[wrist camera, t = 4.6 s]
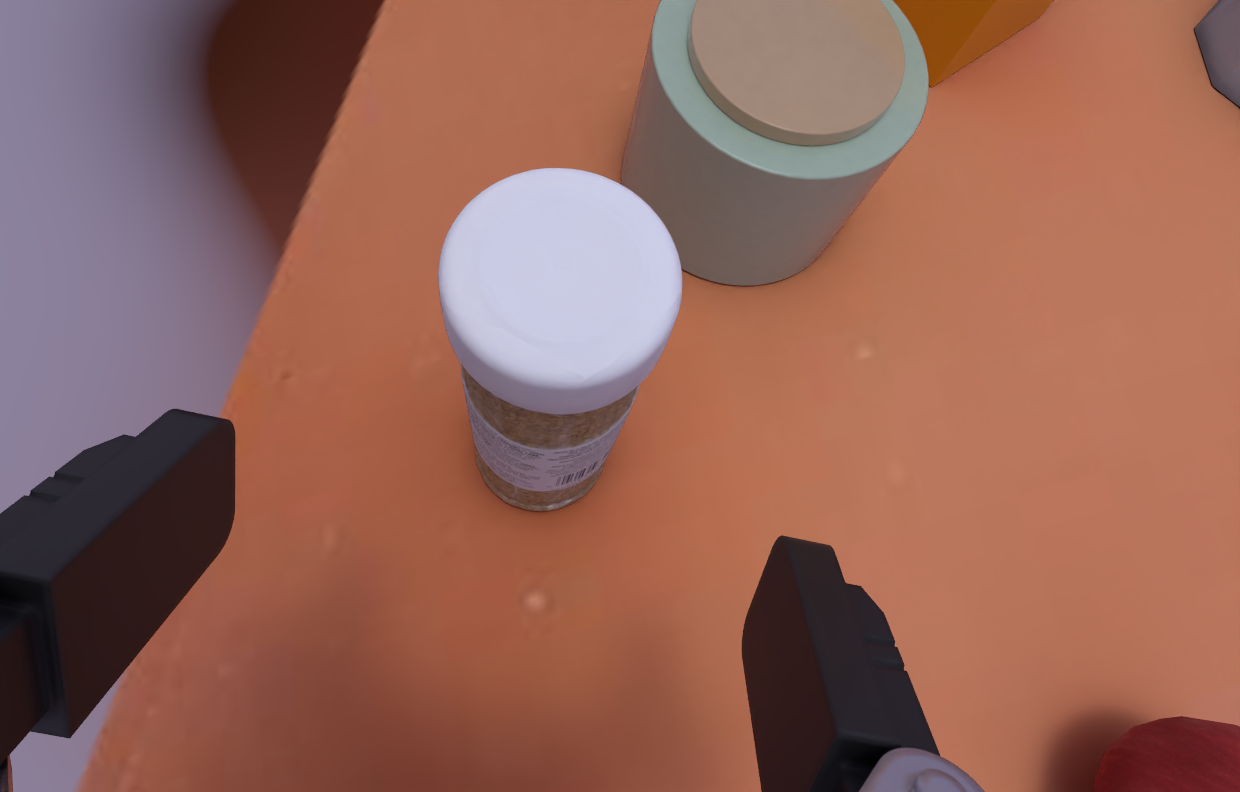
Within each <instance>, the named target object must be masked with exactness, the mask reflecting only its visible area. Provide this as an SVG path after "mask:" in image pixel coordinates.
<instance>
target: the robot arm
mask: <svg viewBox="0 0 1240 792" xmlns="http://www.w3.org/2000/svg"><path fill="white" fill-rule="evenodd" d="M234 514H235V429H234V426H233V424H232V422H231V421H230V420H227V419H223V418H218V417H213V416H208V415H203V414H198V413H194V412H188V411H184V410H179V409H172V410H169V411H167V412H166V413H165V414H163V415H162V416H161V417H160V418H159V419H158V420H156V421H155V422H154V423H152V424H151V425H150V426H149V427H147V428H146V429H145V430H144V431H143V432H141V433H140V434H139V435H138V436H136V437H133V436H128V435H122V436H119V437H117V438H114V439H112V440H109V441H107V442H104V443H101V444H99V445H96V446H94V447H91V448H88V449H86V450H84V451H82V452H81V453H80V454H78V455H77V456H76V457H74V458H73V459H72V460H70V461H69V462H68V463H66V464H65V465H64V466H63V467H61V468H60V469H59V470H57V471H56V472H55V475H54V477H48V478H47V479H46V480H44V481H43V482H42V483H40V484H39V485H38V486H36V487H35V488H34V489H32V490H31V493H30V495H29V496H23V497H22V498H20V499H19V500H18V501H17V502H15V503H14V504H13V505H11V506H10V507H9V508H7V509H6V510H5V511H3V512H2V513H1V514H0V792H13V782H12V766H11V760H10V753H11V752H12V751H13V750H14V749H15V748H16V747H17V745H18V744H19V743H20V742H21V741H22V740H23V738H24V737H25V736H26V735H27V734H28V733H29V732H30V731H31V732H37V733H43V734H48V735H54V736H59V737H65V738H71V736H72V735H73V734H74V733H75V731H76V730H77V729H78V727H79V726H80V725H81V724H82V723H83V721H84V720H85V719H86V718H87V717H88V715H89V714H90V713H91V711H92V710H93V709H94V708H95V707H96V705H97V704H98V703H99V702H100V700H101V699H102V698H103V697H104V695H105V694H106V693H107V692H108V691H109V689H110V688H111V687H112V686H113V684H114V683H115V682H116V681H117V679H118V678H119V677H120V676H121V674H122V673H123V672H124V671H125V669H126V668H127V667H128V666H129V665H130V663H131V662H132V661H133V660H134V658H135V657H136V656H137V655H138V653H139V652H140V651H141V650H142V648H143V647H144V646H145V645H146V643H147V642H148V641H149V640H150V638H151V637H152V636H153V635H154V634H155V632H156V631H157V630H158V629H159V627H160V626H161V625H162V624H163V622H164V621H165V620H166V619H167V617H168V616H169V615H170V614H171V612H172V611H173V610H174V609H175V608H176V606H177V605H178V604H179V603H180V601H181V600H182V599H183V598H184V596H185V595H186V594H187V593H188V591H189V590H190V589H191V588H192V586H193V585H194V584H195V583H196V582H197V580H198V579H199V578H200V577H201V575H202V574H203V573H204V572H205V570H206V569H207V568H208V567H209V565H210V564H211V563H212V562H213V560H214V559H215V558H216V557H217V556H218V554H219V553H220V551H221V550H222V548H223V547H224V545H225V543H226V541H227V539H228V536H229V534H230V531H231V528H232V524H233V520H234ZM894 645H895V640H894V637H893V635H892V632H891V630H890V627H889V625H888V622H887V620H886V617H885V615H884V613H883V612H882V610H881V609H880V608H879V607H878V606H877V605H876V603H875V602H874V601H873V600H872V599H871V598H870V596H869V595H868V594H867V593H866V592H865V591H864V589H863V588H862V587H861V586H857V585H852V584H847V583H845V580H844V578H843V575H842V572H841V569H840V566H839V563H838V560H837V557H836V555H835V552H834V550H833V548H832V547H831V546H830V545H826V544H821V543H816V542H811V541H806V540H801V539H797V538H792V537H787V536H780V537H778V538H777V540H776V541H775V543H774V545H773V547H772V550H771V552H770V555H769V558H768V560H767V563H766V565H765V568H764V571H763V573H762V576H761V579H760V581H759V584H758V586H757V589H756V592H755V594H754V597H753V600H752V602H751V605H750V607H749V610H748V613H747V616H746V620H745V624H744V629H743V636H742V659H743V666H744V673H745V680H746V687H747V693H748V700H749V707H750V714H751V721H752V728H753V735H754V741H755V748H756V755H757V762H758V769H759V776H760V783H761V790H762V792H985V791H984V790H983V789H982V788H981V787H980V786H979V785H978V784H977V782H976V781H974V780H973V779H972V778H971V777H970V776H969V775H968V774H967V773H966V772H964V771H963V770H962V769H960V768H959V767H958V766H956V765H955V764H953V763H951V762H950V761H948V760H947V759H945V758H942V757H941V756H940V754H939V751H938V749H937V746H936V744H935V741H934V739H933V736H932V734H931V731H930V728H929V726H928V723H927V721H926V718H925V716H924V713H923V711H922V708H921V706H920V703H919V701H918V698H917V696H916V693H915V691H914V688H913V685H912V683H911V680H910V678H909V675H908V673H907V671H904V663H903V660H902V658H901V655H900V653H899V650H898V648H897V647H895V646H894Z"/></svg>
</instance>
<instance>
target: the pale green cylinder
mask: <svg viewBox="0 0 1240 792" xmlns="http://www.w3.org/2000/svg"><path fill="white" fill-rule="evenodd" d="M928 82H929V78H928V70H927V63H926V59H925V55H924V52H923V48H922V46H921V43H920V41H919V39H918V36H917V34H916V32H915V31H914V29H913V27H912V25H911V24H910V22H909V20H908V19H907V17H906V16H905V15H904V13H903V12H902V11H901V9H900V8H899V7H898V6H897V5H896V3H895V2H894V1H893V0H661V1H660V3H659V5H658V8H657V11H656V14H655V16H654V20H653V25H652V29H651V34H650V38H649V43H648V47H647V52H646V56H645V61H644V65H643V70H642V74H641V79H640V83H639V88H638V92H637V97H636V101H635V106H634V110H633V115H632V119H631V124H630V128H629V133H628V137H627V142H626V147H625V151H624V156H623V161H622V170H621V181H622V186H624V187H626V188H627V189H629V190H631V191H632V192H634V193H635V194H636V195H637V196H639V197H640V198H641V199H642V200H643V201H644V202H646V203H647V204H648V205H649V206H650V207H651V208H652V210H653V211H654V212H655V213H656V214H657V215H658V217H659V218H660V219H661V221H662V222H663V223H664V225H665V227H666V228H667V230H668V232H669V233H670V235H671V237H672V240H673V242H674V244H675V247H676V250H677V252H678V255H679V259H680V264H681V269H683V270H685V271H687V272H689V273H691V274H693V275H695V276H698V277H700V278H703V279H706V280H709V281H713V282H717V283H722V284H727V285H739V286H750V285H761V284H767V283H773V282H776V281H779V280H782V279H786V278H788V277H790V276H792V275H794V274H796V273H798V272H800V271H801V270H803V269H804V268H806V267H807V266H809V265H810V264H811V263H812V262H813V261H815V260H816V259H817V258H818V257H819V256H820V255H821V253H822V252H823V251H824V250H825V249H826V247H827V246H828V245H829V243H830V242H831V241H832V240H833V238H834V237H835V236H836V234H837V233H838V232H839V231H840V229H841V228H842V227H843V225H844V224H845V223H846V221H847V220H848V219H849V218H850V216H851V215H852V214H853V212H854V211H855V210H856V209H857V207H858V206H859V205H860V203H861V202H862V201H863V199H864V198H865V197H866V196H867V194H868V193H869V192H870V190H871V189H872V188H873V186H874V185H875V184H876V183H877V181H878V180H879V179H880V177H881V176H882V175H883V174H884V172H885V171H886V170H887V168H888V167H889V166H890V164H891V163H892V162H893V161H894V159H895V158H896V157H897V155H898V154H899V153H900V151H901V150H902V149H903V148H904V146H905V145H906V144H907V142H908V141H909V140H910V139H911V137H912V136H913V134H914V133H915V131H916V129H917V127H918V126H919V124H920V122H921V119H922V116H923V114H924V111H925V108H926V102H927V97H928Z"/></svg>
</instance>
